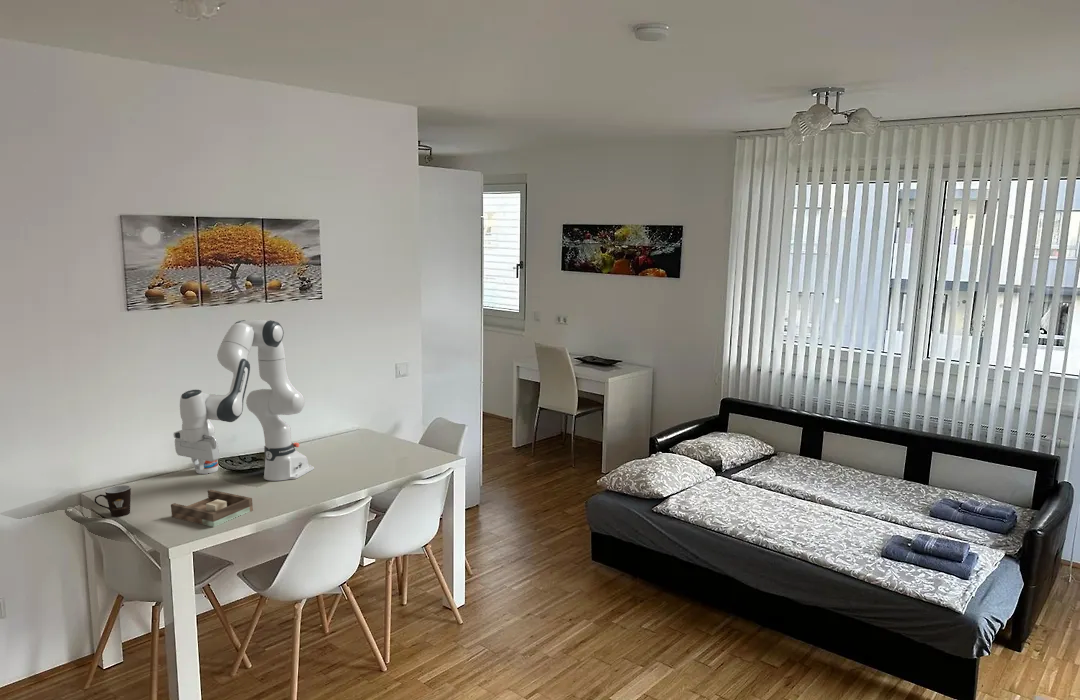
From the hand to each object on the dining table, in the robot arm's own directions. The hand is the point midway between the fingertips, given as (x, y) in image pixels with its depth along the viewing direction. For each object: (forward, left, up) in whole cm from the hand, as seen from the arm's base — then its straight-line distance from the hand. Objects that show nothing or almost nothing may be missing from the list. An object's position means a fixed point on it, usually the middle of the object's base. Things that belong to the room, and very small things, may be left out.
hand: (199, 469), depth 278 cm
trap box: (-3, +1, -19) cm, 19 cm away
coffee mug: (+13, -33, -19) cm, 40 cm away
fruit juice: (-38, -45, -19) cm, 62 cm away
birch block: (+1, +8, -17) cm, 19 cm away
